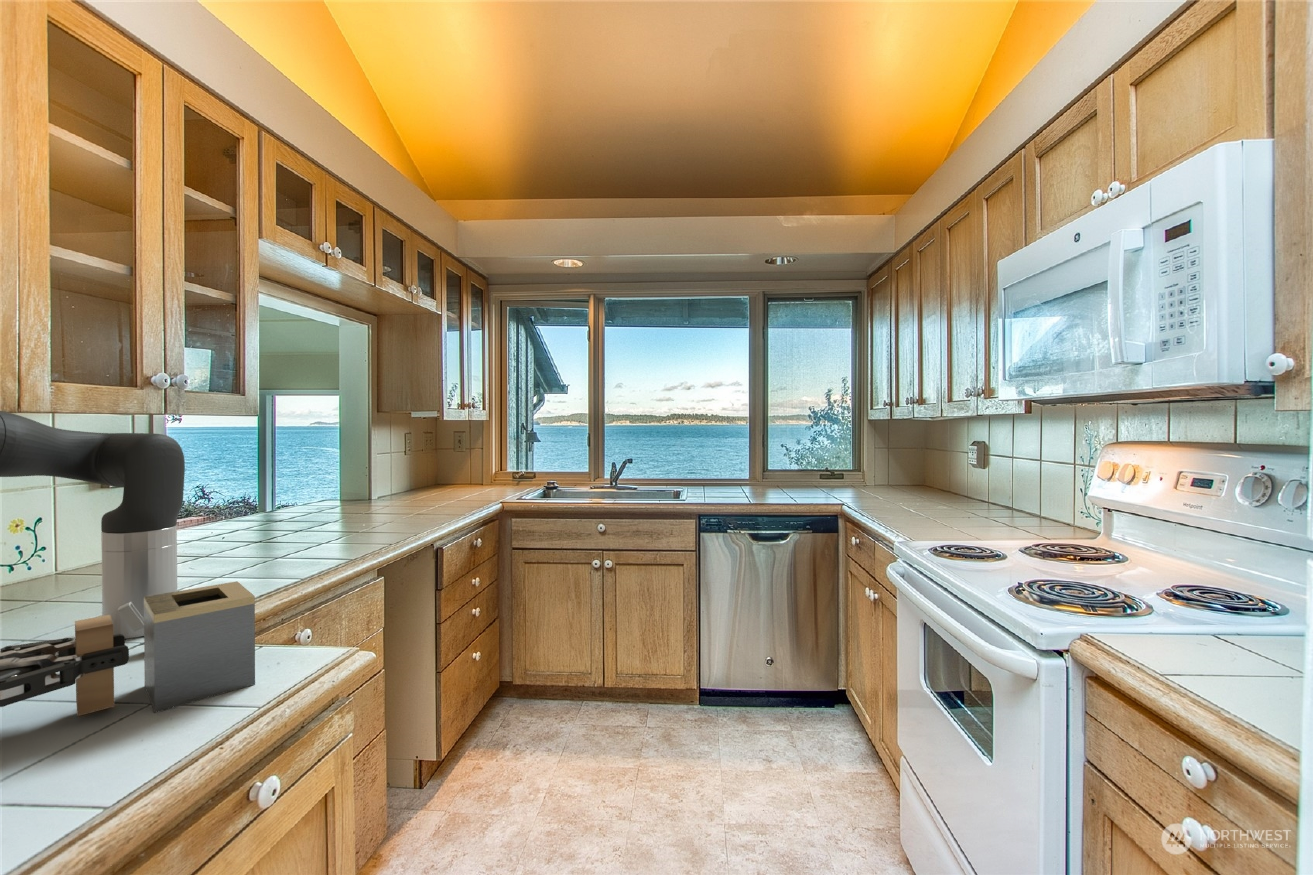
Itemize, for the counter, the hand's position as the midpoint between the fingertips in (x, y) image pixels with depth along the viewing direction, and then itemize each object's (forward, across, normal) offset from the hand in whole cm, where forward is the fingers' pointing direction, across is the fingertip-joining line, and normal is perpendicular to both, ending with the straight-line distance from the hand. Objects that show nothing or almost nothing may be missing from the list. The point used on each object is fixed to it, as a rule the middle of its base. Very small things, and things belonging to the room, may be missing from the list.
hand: (125, 648), depth 67 cm
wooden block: (-3, 0, +6) cm, 7 cm away
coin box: (+7, 0, +7) cm, 10 cm away
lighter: (+4, +19, +8) cm, 21 cm away
